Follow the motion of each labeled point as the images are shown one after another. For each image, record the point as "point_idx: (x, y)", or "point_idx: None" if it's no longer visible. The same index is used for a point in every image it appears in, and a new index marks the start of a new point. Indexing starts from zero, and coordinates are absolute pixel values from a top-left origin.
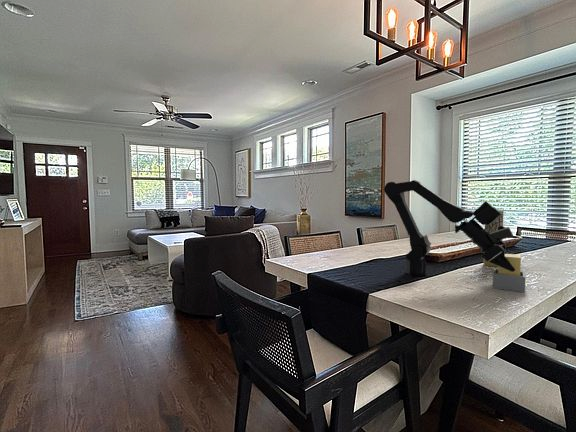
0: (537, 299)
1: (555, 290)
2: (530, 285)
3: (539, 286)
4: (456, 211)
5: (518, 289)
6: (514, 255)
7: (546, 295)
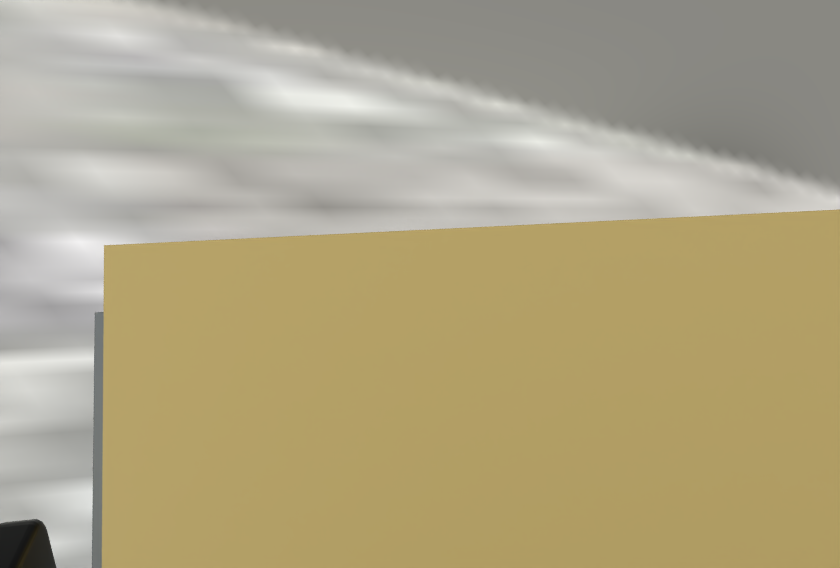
0: None
1: (181, 26)
2: (59, 300)
3: (50, 188)
4: None
5: None
6: (473, 484)
7: (534, 128)
